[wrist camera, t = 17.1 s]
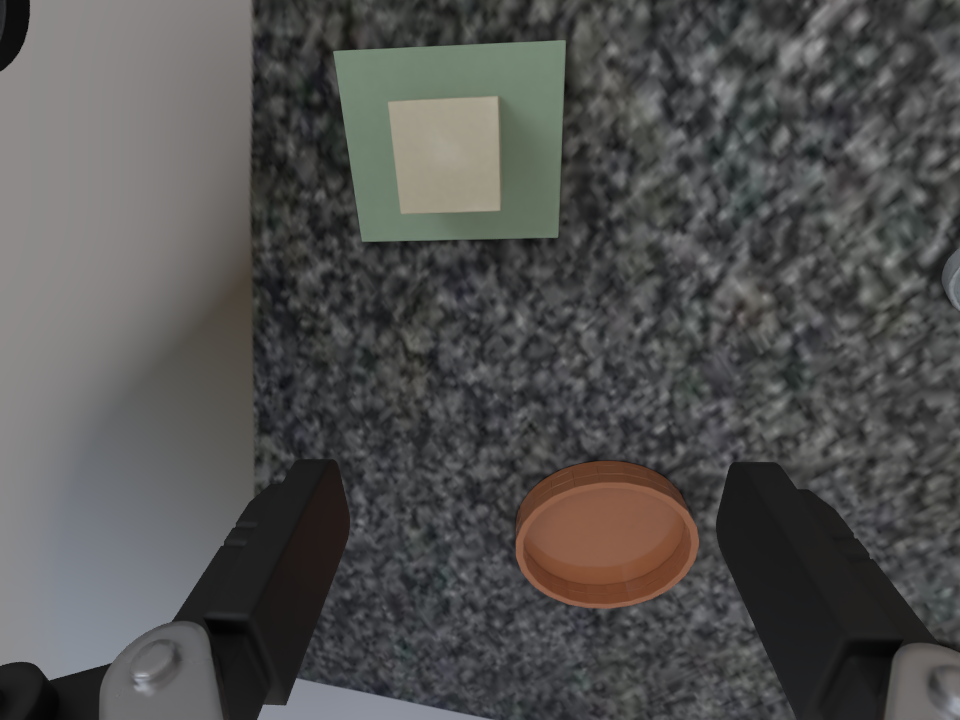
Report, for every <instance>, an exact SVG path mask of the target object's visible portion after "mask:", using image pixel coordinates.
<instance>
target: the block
mask: <svg viewBox="0 0 960 720" xmlns="http://www.w3.org/2000/svg"><path fill="white" fill-rule="evenodd" d="M388 109H389V118H390V126H391V135H392V144H393V152H394V161H395V170H396V178H397V187H398V196H399V204H400V213H401V214H430V213H462V212H493V211H501V204H502V146H501V97H500V96H499V95H498V96H477V97H456V98H434V99H413V100H398V101H389V102H388Z"/></svg>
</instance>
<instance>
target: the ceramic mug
mask: <svg viewBox="0 0 960 720" xmlns="http://www.w3.org/2000/svg"><path fill="white" fill-rule="evenodd" d="M941 280H942V285H943V287H944V289H945V292H946V294H947V296H948V298H949V299H950V301H951V303H952V305H953V306H954V307H955V308H956V309H957V310H959V311H960V248H958V249H957V250H956V251H955V252H954V253H953V254H952V255H951V256H950V258H949V259H948V260H947V262H946V264H945V266H944V269H943V272H942V279H941Z"/></svg>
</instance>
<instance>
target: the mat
mask: <svg viewBox="0 0 960 720" xmlns="http://www.w3.org/2000/svg"><path fill="white" fill-rule="evenodd" d="M565 53H566V40H558V41H537V42H516V43H494V44H473V45H452V46H431V47H410V48H388V49H367V50H346V51H334V59H335V65H336V72H337V79H338V85H339V92H340V99H341V105H342V112H343V119H344V125H345V132H346V139H347V145H348V152H349V159H350V165H351V172H352V179H353V185H354V192H355V199H356V205H357V212H358V219H359V225H360V232H361V239H362V242H378V241H424V240H469V239H515V238H557V237H558V232H559V207H560V181H561V156H562V130H563V105H564V79H565ZM498 95H499V96H500V97H501V146H502V204H501V211H493V212H462V213H430V214H401V213H400V204H399V196H398V187H397V178H396V170H395V161H394V152H393V144H392V135H391V126H390V118H389V109H388V102H389V101H398V100H413V99H434V98H456V97H477V96H498Z"/></svg>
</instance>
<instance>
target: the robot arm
mask: <svg viewBox="0 0 960 720" xmlns="http://www.w3.org/2000/svg"><path fill="white" fill-rule="evenodd" d="M349 528H350V515H349V509H348V505H347V501H346V497H345V492H344V488H343V484H342V479H341V475H340V471H339V467H338V464H337V462H336V461H335V460H333V459H299V460H297V461H296V462H295V463H294V464H293V466H292V467H291V469H290V471H289V472H288V474H287V476H286V477H285V479H284V481H283V482H282V484H271V485H269V486H268V487H267V488H266V489H265V490H263V491H262V492H261V493H260V494H259V495H257V496H256V497H255V498H254V499H253V500H252V501H250V502H249V504H248V505H247V507H246V509H245V510H244V511H243V513H242V515H241V516H240V518H239V519H238V521H237V522H236V527H235V528H233V529H232V530H231V532H230V533H229V535H228V536H227V538H226V539H225V541H224V546H221V547H220V548H219V550H218V552H217V553H216V555H215V556H214V558H213V559H212V561H211V563H210V564H209V566H208V567H207V569H206V570H205V572H204V573H203V575H202V576H201V578H200V579H199V581H198V583H197V584H196V586H195V587H194V589H193V590H192V592H191V593H190V595H189V596H188V598H187V599H186V601H185V602H184V604H183V606H182V607H181V609H180V610H179V612H178V613H177V615H176V616H175V618H174V619H173V620H172V622H170V623H167V624H163V625H161V626H158V627H156V628H154V629H152V630H150V631H148V632H146V633H144V634H143V635H141V636H140V637H138V638H137V639H136V640H134V641H133V642H132V643H131V644H129V645H128V646H127V647H126V648H125V649H124V650H123V651H122V652H121V653H120V654H119V655H118V656H117V658H116V659H115V660H114V661H113V663H111V664H107V665H104V666H100V667H96V668H93V669H89V670H86V671H82V672H79V673H75V674H71V675H68V676H64V677H60V678H57V679H54V680H50V681H49V680H48V679H47V678H46V676H45V675H44V674H43V673H42V671H41V670H40V669H39V668H38V667H37V666H36V665H34V664H32V663H28V662H15V663H9V664H5V665H2V666H0V720H257V718H258V716H259V713H260V711H261V708H262V706H263V704H266V705H286V704H287V701H288V698H289V696H290V693H291V690H292V688H293V685H294V682H295V680H296V677H297V674H298V672H299V669H300V666H301V664H302V661H303V658H304V656H305V653H306V650H307V648H308V645H309V642H310V640H311V637H312V634H313V632H314V629H315V626H316V624H317V621H318V618H319V616H320V613H321V610H322V607H323V605H324V602H325V599H326V597H327V594H328V591H329V589H330V586H331V583H332V581H333V578H334V575H335V573H336V570H337V567H338V565H339V562H340V559H341V557H342V554H343V551H344V549H345V546H346V543H347V540H348V535H349ZM716 532H717V539H718V543H719V547H720V550H721V552H722V555H723V557H724V559H725V561H726V563H727V566H728V568H729V570H730V572H731V574H732V577H733V579H734V581H735V583H736V586H737V588H738V590H739V592H740V594H741V597H742V599H743V601H744V603H745V606H746V608H747V610H748V612H749V614H750V617H751V619H752V621H753V623H754V626H755V628H756V630H757V632H758V634H759V637H760V639H761V641H762V643H763V646H764V648H765V650H766V652H767V654H768V657H769V659H770V661H771V663H772V666H773V668H774V670H775V672H776V674H777V677H778V679H779V681H780V683H781V686H782V688H783V690H784V692H785V694H786V697H787V699H788V701H789V703H790V706H791V708H792V710H793V712H794V714H795V717H796V719H797V720H960V653H959V652H956V651H954V650H952V649H949V648H946V647H943V646H940V645H939V643H938V642H937V641H936V640H935V639H934V637H933V636H932V635H931V633H930V632H929V631H928V630H927V628H926V627H925V626H924V624H923V623H922V622H921V620H920V619H919V618H918V617H917V615H916V614H915V613H914V611H913V610H912V609H911V607H910V606H909V605H908V604H907V602H906V601H905V600H904V598H903V597H902V596H901V594H900V593H899V592H898V591H897V589H896V588H895V587H894V585H893V584H892V583H891V581H890V580H889V579H888V578H887V576H886V575H885V574H884V572H883V571H882V570H881V568H880V567H879V566H878V565H877V563H876V562H875V561H874V559H870V557H869V553H868V552H867V550H866V549H865V548H864V546H863V545H862V544H861V542H860V541H859V540H858V539H855V538H854V533H853V532H852V531H851V529H850V528H849V527H848V526H847V524H846V523H845V522H844V520H843V519H842V518H841V516H840V515H839V514H838V513H837V511H836V510H835V509H834V508H832V507H831V506H830V505H828V504H827V503H826V502H824V501H823V500H822V499H820V498H819V497H818V496H816V495H815V494H814V493H812V492H811V491H810V490H807V489H797V488H796V487H795V486H794V484H793V483H792V481H791V480H790V479H789V477H788V476H787V474H786V473H785V472H784V470H783V469H782V468H781V466H780V465H778V464H777V463H775V462H734V463H732V464H731V465H730V467H729V470H728V474H727V478H726V482H725V486H724V490H723V494H722V499H721V503H720V507H719V511H718V515H717V520H716Z"/></svg>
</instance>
